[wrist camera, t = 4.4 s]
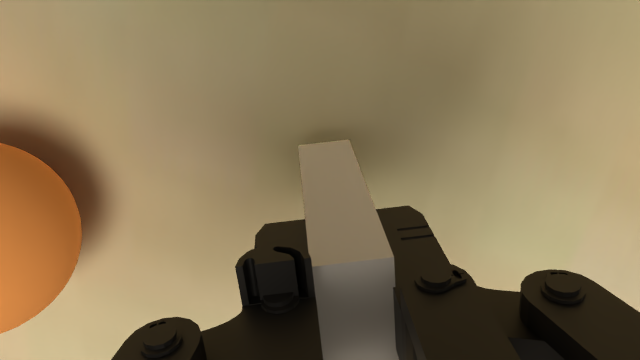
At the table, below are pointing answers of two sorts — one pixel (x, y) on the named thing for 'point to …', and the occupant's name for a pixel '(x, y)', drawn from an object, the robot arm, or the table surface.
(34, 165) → the ball
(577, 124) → the table surface
